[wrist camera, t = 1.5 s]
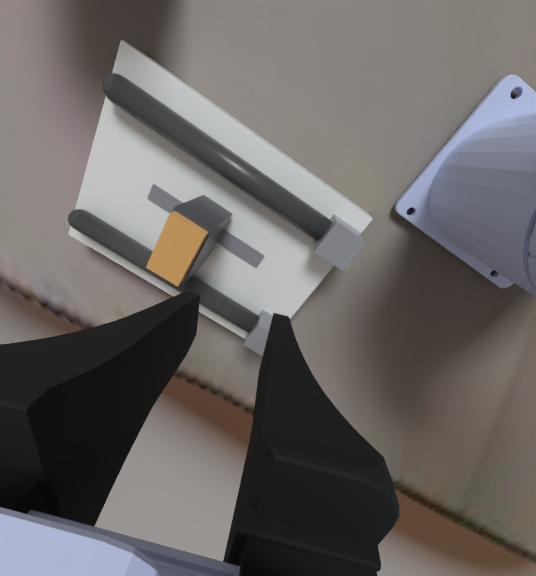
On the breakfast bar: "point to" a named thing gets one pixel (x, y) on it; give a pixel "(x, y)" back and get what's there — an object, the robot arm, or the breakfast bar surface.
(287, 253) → the strip
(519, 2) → the breakfast bar surface
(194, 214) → the block
